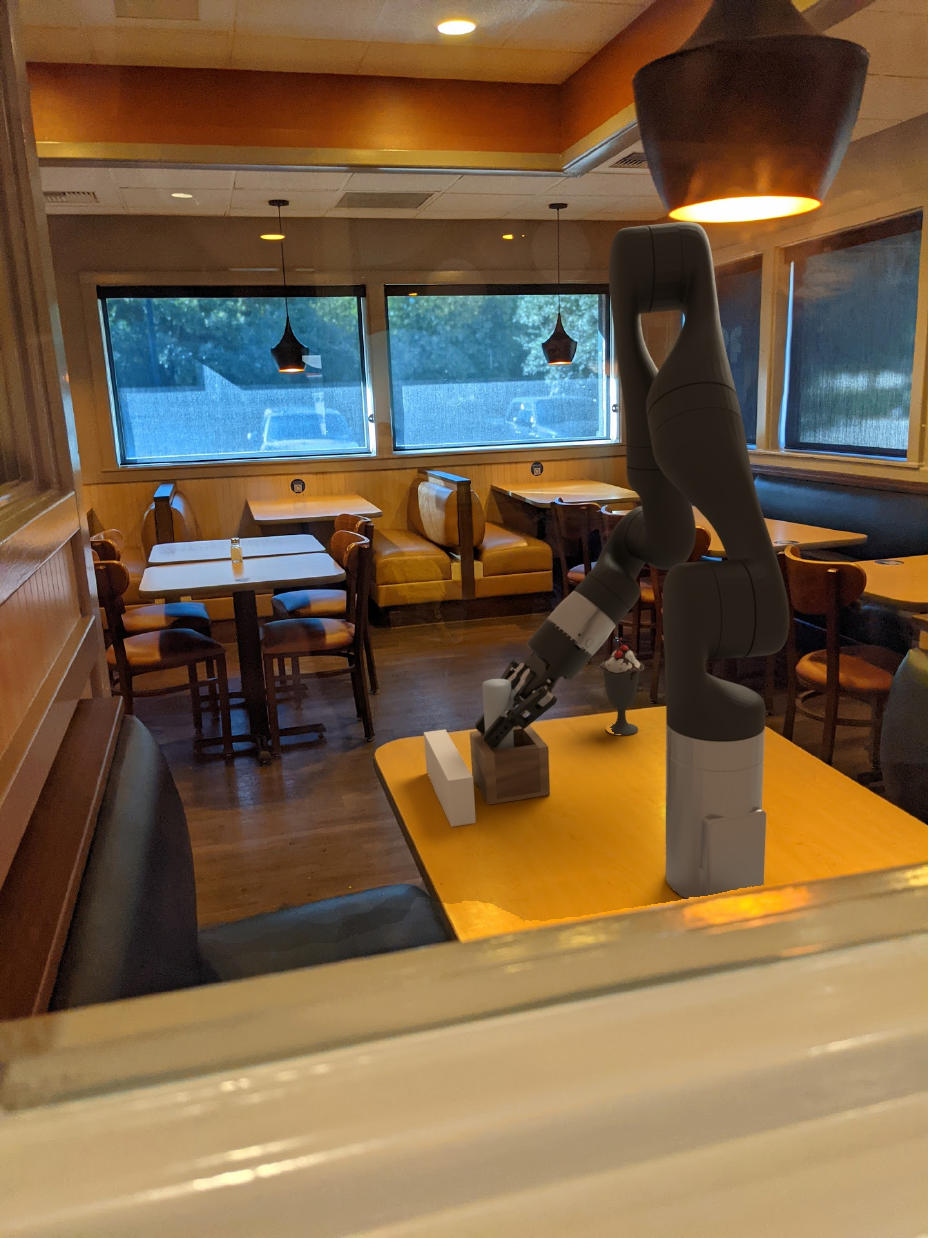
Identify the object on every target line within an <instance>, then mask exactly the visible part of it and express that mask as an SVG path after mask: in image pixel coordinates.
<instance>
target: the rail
mask: <svg viewBox="0 0 928 1238" xmlns="http://www.w3.org/2000/svg"><path fill="white" fill-rule="evenodd" d="M423 741H424V752H425V753H424V755H425V768H426V769H425V770H426V773H427V772H428V775H429V777H430V779H431V781H430V783H431V782H432V784H431V786H432V785H433V786H432V788H433V787H434V788H433V790H434V792H435V795H436V796H437V799H438V800H439V803H440V805H441V808H442V809H443V812H444V814H445V816H446V819H447V820H448V823H449V826H450V827H451V828H453V827H458V826H465V825H471V824H472V825H473V824H476V823H477V821H476V809H475V808H476V803H475V790H474V789H475V787H474V780H473V776H472V772H471V771H470V769H469V768H468V766H467V764H466V763H465V761H464V759H463V757H462V755H461V754H460V752H459V750H458V749H457V747H456V746H455V744H454V742H453V740H452V738H451V737H450V735H449V733H448V732H447V729H437V730H431V731H424V732H423ZM428 775H427V776H428ZM429 777H428V778H429ZM430 779H429V780H430Z"/></svg>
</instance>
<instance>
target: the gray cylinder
mask: <svg viewBox="0 0 928 1238" xmlns="http://www.w3.org/2000/svg"><path fill="white" fill-rule="evenodd" d="M510 695H511V682H510V681H509V680H506V679H500V678H493V679H492V678H491V679H488V680H487V679H486V680H485V681H483V682H482V699H483V702H482V704H483V714H484V721H485V732H486V731H487V730H488V729H489V727H490V726H491V725H492V724H493V723H494V722H495V720H496V719H497V718H498V717H499V716H501V715H502V713H503V711H504V710H505V708H506V707H507V705H508V704H509V703H510V698H509V697H510ZM501 717H502V716H501ZM488 746H489V747H490V749H491V750H492V751H494V750H501V749H508V748H514V739H513V729H512V730H511V731H510V732H509V733H508V734H507V736H506V737H505V738H504V739H503V740H502V741H501V743H500V744H499V745H498V746H497V747H496V748H493V747H491V746H490V745H489V744H488Z"/></svg>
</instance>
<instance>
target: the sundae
mask: <svg viewBox="0 0 928 1238" xmlns="http://www.w3.org/2000/svg"><path fill="white" fill-rule="evenodd" d="M622 640H623V638H622V637H619V639H618V643H617V647H616V649H615V650H614V651H613V652H612V653H611V655H610V657H609V658H608V659H607V660H605V661H603V662H601V663H600V664H599V666H598V669H600V670H601V671H602V674H603V678H604V685H605V691H606V692H605V693H606V695H607V701H608V702H609V703H610V704H611V705H612V706H613V707H615V708H616V709H617V718H616V721H615V722H614V723H615V724H613V723H612V724H613V725H612V726H611V727H610V728H612V729H611V730H612V732H614V734H621V735H624V736H623V737H626V736H625V735H628V736H632V735H634V734H636V732H637V733H638V731H639V728H638V726H636V725H635V724H633V723H630V724H629V722H628V721H627V717H626V710H627V708H629V707H630V706H632V704H633V703H634V702H635V699H636V696H637V689H638V681H639V675H640V673H642V672H643V671H644V670H645V666H644V663H643V662H640V661H639V660H637V653H636V652H634V651H632V650H631V649H629V647H628V646H627V645H625V644H623V643H622ZM620 644H621V646H620V647H619V645H620Z"/></svg>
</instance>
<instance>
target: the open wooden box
mask: <svg viewBox="0 0 928 1238" xmlns="http://www.w3.org/2000/svg"><path fill="white" fill-rule="evenodd" d="M482 736H483V734H482V733H481V732H479V731H478V730H475V731H470V732H469V741H470V743H469V746H470V760H471V774H472V776H473V783H474V784H475V785H476V787H477V789H478V790H479V792H480V794H481V795H482V798H483V799H484V801H485V802H486V804H487V805H488V806H489V805H494V804H501V803H507V802H513V801H519V800H526V799H531V798H532V799H533V798H538V797H544V796H550V795H551V789H550V788H551V783H550V781H551V780H550V760H549V759H550V757H549V753H550V752H549V746H548V745H547V743H546V742H545V741H544V740H543V738H541V735H539V734H538V733H537V731H536V730H535V729H534V728H533V727H532V726H531V724H530V725H529V726H527V727H526V728H525V729H523V728H521V727H520V726H519V727H517V728H516V727H513V739H514V748H508V749H501V750H494V751H492V750H491V749H490V747H489V746H488V744H487V743H486V742H485V741H484V740H483V738H482Z"/></svg>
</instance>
